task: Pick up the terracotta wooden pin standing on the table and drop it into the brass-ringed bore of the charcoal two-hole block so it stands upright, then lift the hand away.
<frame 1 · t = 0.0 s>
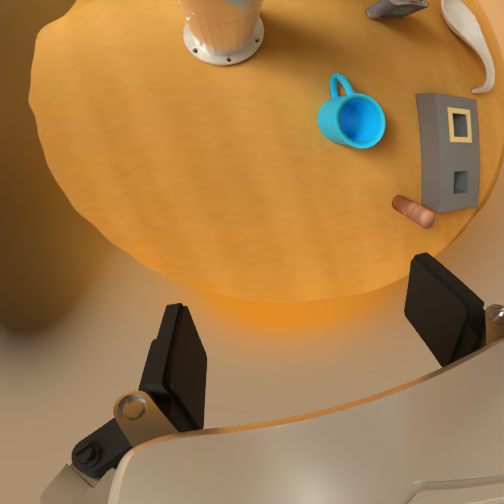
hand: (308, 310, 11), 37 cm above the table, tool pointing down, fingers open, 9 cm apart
spoon rest: (461, 44, 33), on the table
flask: (384, 13, 32), on the table
bore block: (442, 149, 43), on the table
pin: (398, 202, 48), on the table
mug: (336, 109, 40), on the table
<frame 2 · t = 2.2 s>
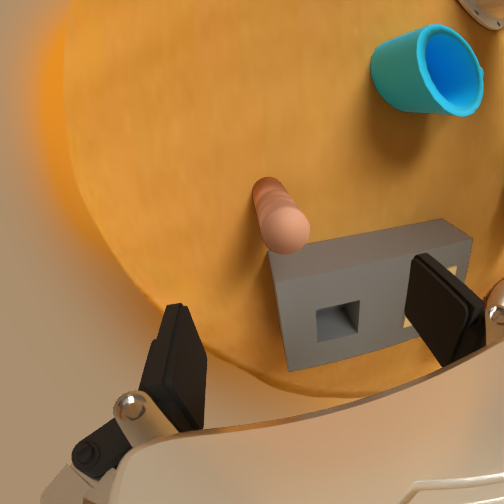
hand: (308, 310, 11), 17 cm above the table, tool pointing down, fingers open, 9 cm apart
spoon rest: (477, 304, 36), on the table
bore block: (366, 279, 31), on the table
pin: (268, 192, 26), on the table
mug: (416, 75, 21), on the table
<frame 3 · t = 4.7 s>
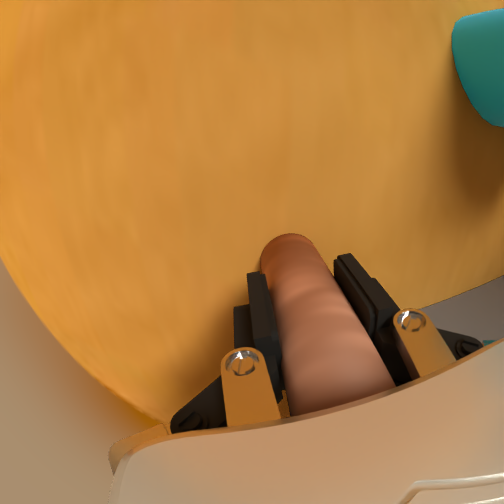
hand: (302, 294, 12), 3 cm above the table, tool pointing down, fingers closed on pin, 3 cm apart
bore block: (414, 360, 20), on the table
pin: (289, 260, 15), on the table, touching gripper
mug: (500, 71, 10), on the table
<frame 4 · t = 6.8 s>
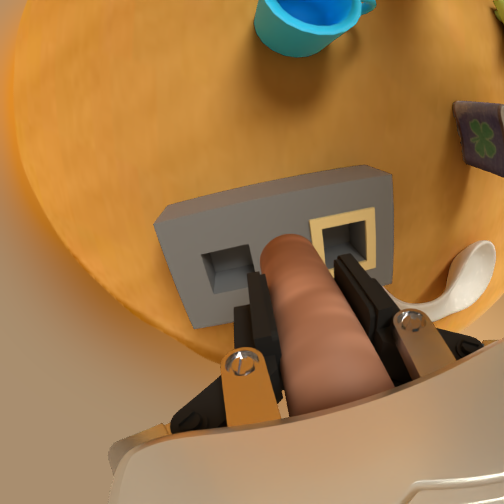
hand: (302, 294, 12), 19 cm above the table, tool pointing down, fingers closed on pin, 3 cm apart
spoon rest: (436, 275, 36), on the table
flask: (462, 132, 27), on the table
bore block: (278, 233, 31), on the table
pin: (288, 260, 15), point 16 cm above the table, touching gripper
mug: (309, 22, 21), on the table
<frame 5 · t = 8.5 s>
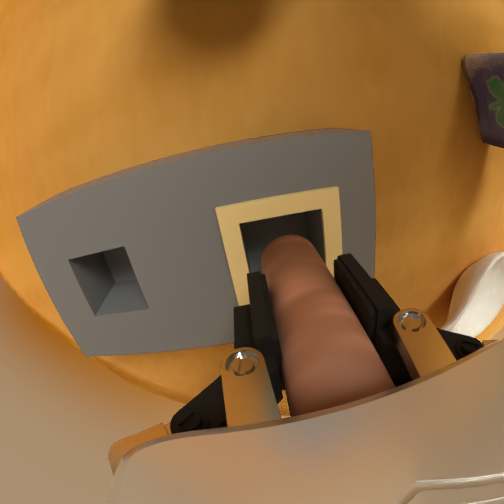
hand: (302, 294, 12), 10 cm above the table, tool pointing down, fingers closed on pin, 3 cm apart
spoon rest: (437, 294, 26), on the table
flask: (477, 99, 17), on the table
bore block: (199, 231, 21), on the table
pin: (289, 261, 15), point 7 cm above the table, touching gripper
when the fingers open (7 cm above the table, at t = 9.5 s): pin drops 2 cm, resting on bore block.
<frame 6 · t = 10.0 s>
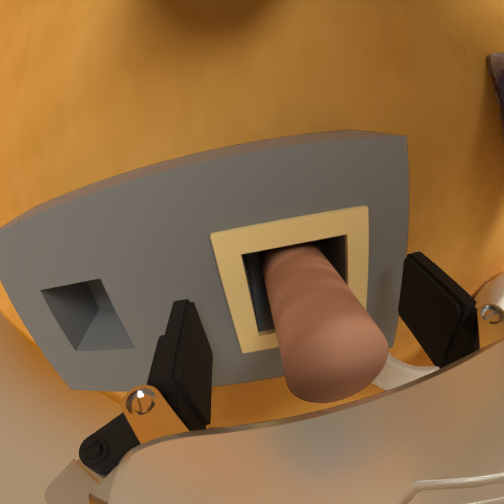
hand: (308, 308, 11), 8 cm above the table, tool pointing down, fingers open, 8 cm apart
spoon rest: (451, 313, 23), on the table
flask: (501, 101, 14), on the table
bore block: (193, 251, 18), on the table
pin: (283, 245, 16), point 2 cm above the table, touching bore block
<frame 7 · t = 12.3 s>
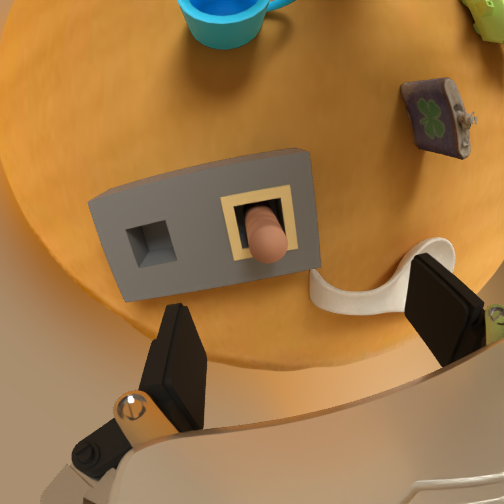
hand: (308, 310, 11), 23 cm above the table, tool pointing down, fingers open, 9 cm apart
spoon rest: (384, 270, 38), on the table
flask: (414, 116, 28), on the table
bore block: (208, 215, 32), on the table
pin: (256, 210, 31), point 2 cm above the table, touching bore block
mug: (241, 16, 23), on the table
green block with protrusions: (479, 15, 19), on the table
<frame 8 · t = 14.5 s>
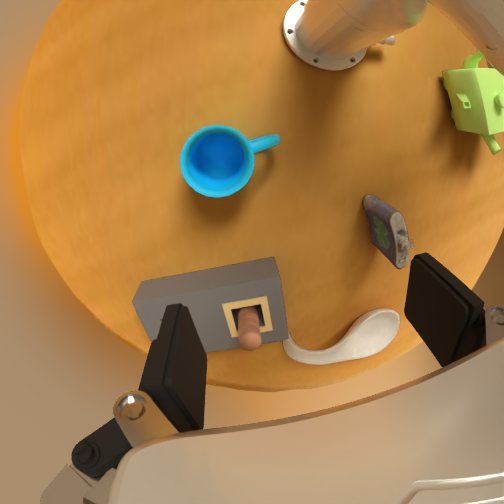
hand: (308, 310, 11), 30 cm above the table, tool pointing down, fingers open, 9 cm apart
spoon rest: (340, 328, 52), on the table
flask: (373, 219, 42), on the table
bore block: (213, 300, 46), on the table
pin: (246, 300, 45), point 2 cm above the table, touching bore block
mug: (233, 149, 37), on the table
green block with protrusions: (460, 96, 33), on the table
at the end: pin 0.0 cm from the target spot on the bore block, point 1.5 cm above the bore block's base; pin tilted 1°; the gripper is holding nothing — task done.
